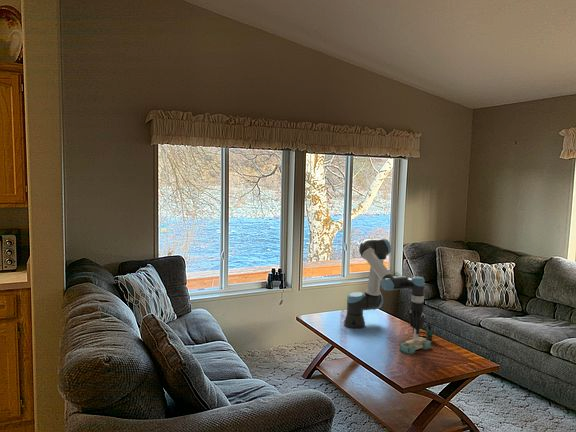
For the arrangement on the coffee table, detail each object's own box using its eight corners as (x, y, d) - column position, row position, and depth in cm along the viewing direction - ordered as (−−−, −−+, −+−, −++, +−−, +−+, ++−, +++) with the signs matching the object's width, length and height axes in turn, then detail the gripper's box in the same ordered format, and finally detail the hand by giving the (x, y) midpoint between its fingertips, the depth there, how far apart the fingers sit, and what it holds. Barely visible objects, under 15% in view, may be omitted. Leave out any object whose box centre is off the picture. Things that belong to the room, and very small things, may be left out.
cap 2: (430, 347, 275) (431, 341, 275) (425, 349, 272) (425, 343, 272) (421, 344, 281) (421, 338, 281) (415, 345, 278) (415, 339, 278)
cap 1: (399, 350, 270) (399, 344, 270) (405, 348, 273) (405, 342, 273) (409, 354, 264) (409, 348, 263) (415, 352, 267) (415, 346, 266)
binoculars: (416, 323, 293) (432, 322, 291) (417, 338, 294) (433, 338, 292) (417, 327, 285) (433, 327, 283) (418, 343, 285) (434, 343, 283)
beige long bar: (404, 349, 269) (404, 341, 269) (420, 344, 279) (421, 336, 278) (409, 351, 266) (410, 343, 266) (425, 346, 275) (426, 338, 275)
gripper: (405, 300, 273) (403, 336, 275) (421, 305, 263) (420, 343, 264) (413, 298, 278) (411, 334, 279) (429, 303, 267) (428, 340, 269)
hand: (415, 338), depth 272 cm, fingers closed
